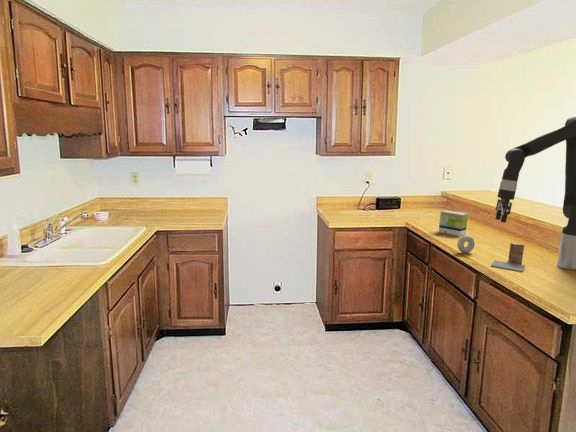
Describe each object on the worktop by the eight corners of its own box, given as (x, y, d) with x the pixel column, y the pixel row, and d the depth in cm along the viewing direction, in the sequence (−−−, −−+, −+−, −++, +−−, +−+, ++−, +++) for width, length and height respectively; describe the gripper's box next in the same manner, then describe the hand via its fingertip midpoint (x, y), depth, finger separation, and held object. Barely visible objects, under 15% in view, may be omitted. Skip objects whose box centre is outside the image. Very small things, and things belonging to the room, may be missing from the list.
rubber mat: (524, 266, 218) (525, 265, 217) (522, 272, 208) (522, 270, 208) (494, 261, 225) (494, 260, 225) (490, 266, 215) (490, 265, 215)
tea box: (437, 232, 291) (440, 211, 289) (444, 230, 299) (446, 209, 296) (460, 236, 281) (462, 214, 279) (466, 234, 289) (468, 212, 286)
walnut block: (508, 261, 226) (510, 242, 224) (517, 261, 226) (520, 243, 224) (511, 263, 222) (514, 244, 220) (521, 264, 222) (524, 245, 220)
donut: (471, 252, 242) (473, 234, 241) (474, 253, 239) (477, 236, 237) (455, 252, 240) (457, 234, 239) (458, 254, 237) (460, 236, 235)
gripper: (520, 191, 208) (513, 224, 211) (510, 189, 222) (503, 220, 225) (504, 189, 209) (497, 222, 212) (495, 186, 223) (488, 217, 226)
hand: (500, 220), depth 219 cm, fingers open, 8 cm apart
